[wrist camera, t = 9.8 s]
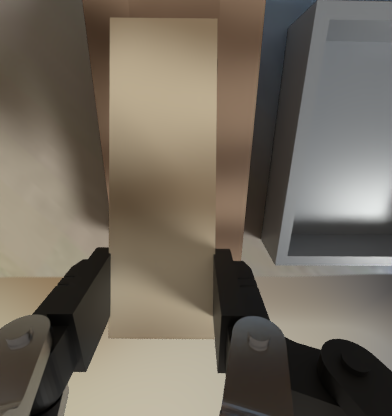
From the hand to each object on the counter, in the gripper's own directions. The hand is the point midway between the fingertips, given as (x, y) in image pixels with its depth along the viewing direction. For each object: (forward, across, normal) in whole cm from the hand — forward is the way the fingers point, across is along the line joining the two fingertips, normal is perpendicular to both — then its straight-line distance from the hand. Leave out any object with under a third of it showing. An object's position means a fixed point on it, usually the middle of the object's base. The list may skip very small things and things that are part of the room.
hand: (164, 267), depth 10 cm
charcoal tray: (+15, -18, -3) cm, 24 cm away
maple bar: (+3, 0, -3) cm, 4 cm away
